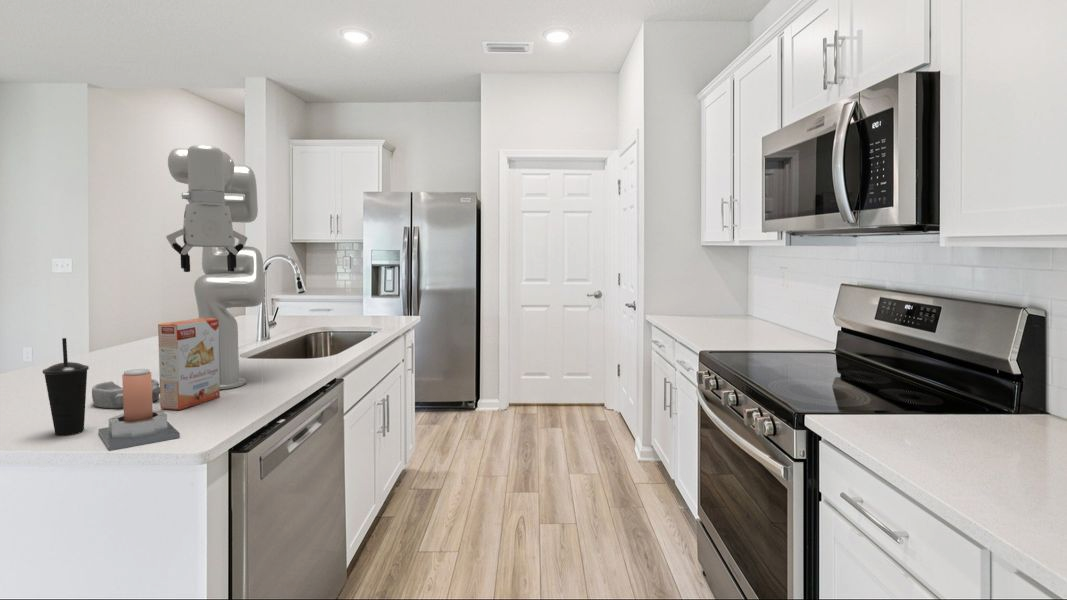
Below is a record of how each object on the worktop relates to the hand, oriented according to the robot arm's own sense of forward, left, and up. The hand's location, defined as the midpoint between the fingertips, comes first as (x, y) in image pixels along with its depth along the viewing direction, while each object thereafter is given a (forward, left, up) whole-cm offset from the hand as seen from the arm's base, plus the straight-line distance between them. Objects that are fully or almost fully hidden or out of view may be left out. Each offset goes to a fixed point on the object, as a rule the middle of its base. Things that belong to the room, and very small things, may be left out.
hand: (209, 271), depth 145 cm
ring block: (+14, -18, -33) cm, 40 cm away
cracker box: (-8, -3, -34) cm, 35 cm away
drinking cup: (+2, -28, -34) cm, 44 cm away
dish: (-19, -15, -34) cm, 41 cm away
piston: (+14, -18, -32) cm, 39 cm away
